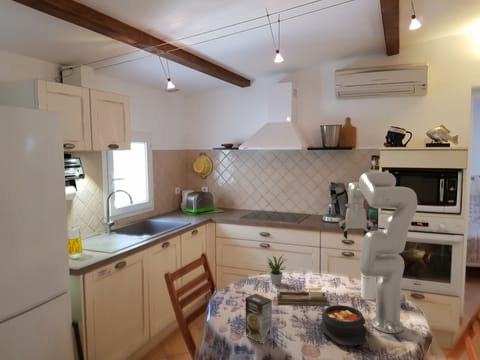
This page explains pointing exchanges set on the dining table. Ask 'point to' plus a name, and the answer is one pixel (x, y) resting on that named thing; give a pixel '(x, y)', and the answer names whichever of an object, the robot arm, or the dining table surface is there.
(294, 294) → the chute
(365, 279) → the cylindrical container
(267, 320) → the coffee box
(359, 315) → the casserole
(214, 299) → the dining table surface
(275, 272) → the house plant
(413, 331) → the dining table surface
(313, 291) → the block
